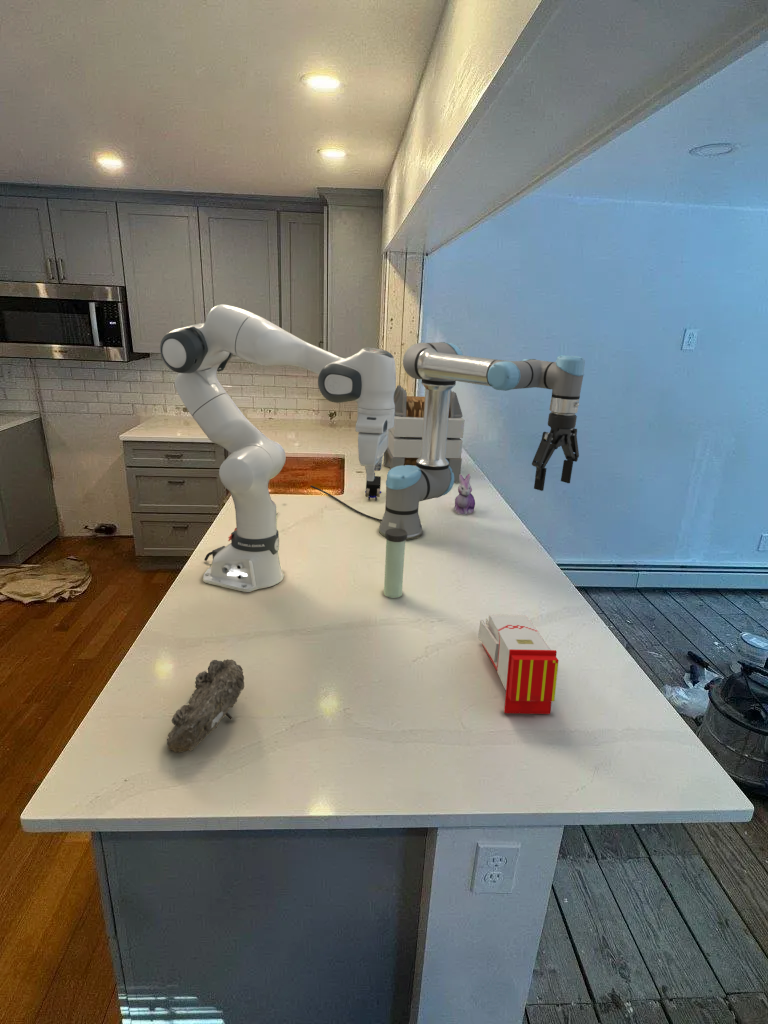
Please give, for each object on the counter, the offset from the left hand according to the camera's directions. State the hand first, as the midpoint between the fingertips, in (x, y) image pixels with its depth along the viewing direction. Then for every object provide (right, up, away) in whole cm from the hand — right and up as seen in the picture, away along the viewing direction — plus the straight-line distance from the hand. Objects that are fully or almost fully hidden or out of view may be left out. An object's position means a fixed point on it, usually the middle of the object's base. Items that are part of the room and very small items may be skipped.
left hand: (374, 475), depth 139 cm
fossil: (-30, -48, -31) cm, 65 cm away
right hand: (+52, -1, +26) cm, 58 cm away
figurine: (+34, -9, +86) cm, 93 cm away
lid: (+6, -15, +12) cm, 20 cm away
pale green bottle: (+5, -32, +19) cm, 37 cm away
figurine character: (-2, -3, +98) cm, 98 cm away
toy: (+30, -45, -14) cm, 56 cm away
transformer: (+20, +10, +136) cm, 137 cm away
